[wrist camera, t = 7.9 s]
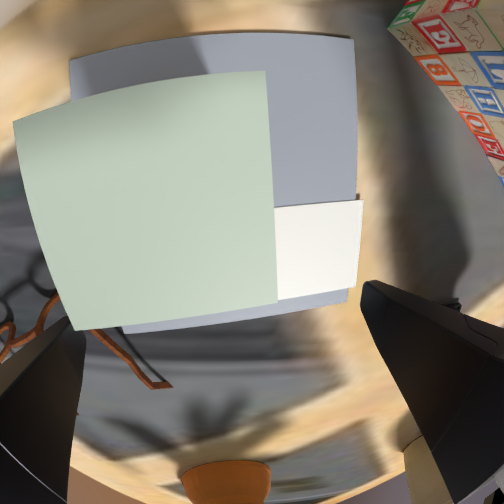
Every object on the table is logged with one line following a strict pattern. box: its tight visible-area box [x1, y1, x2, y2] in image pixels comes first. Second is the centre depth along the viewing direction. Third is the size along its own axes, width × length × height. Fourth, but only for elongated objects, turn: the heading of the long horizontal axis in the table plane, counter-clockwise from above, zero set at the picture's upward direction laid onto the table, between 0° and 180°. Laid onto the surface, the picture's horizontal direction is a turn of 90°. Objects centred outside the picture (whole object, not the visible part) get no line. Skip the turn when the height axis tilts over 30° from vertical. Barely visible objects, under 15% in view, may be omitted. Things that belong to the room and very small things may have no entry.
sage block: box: [13, 71, 278, 331], centre depth 10 cm, size 6×6×6 cm
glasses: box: [0, 293, 173, 415], centre depth 22 cm, size 13×13×5 cm
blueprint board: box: [69, 33, 363, 334], centre depth 20 cm, size 20×19×1 cm
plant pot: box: [404, 435, 453, 504], centre depth 39 cm, size 15×15×16 cm
